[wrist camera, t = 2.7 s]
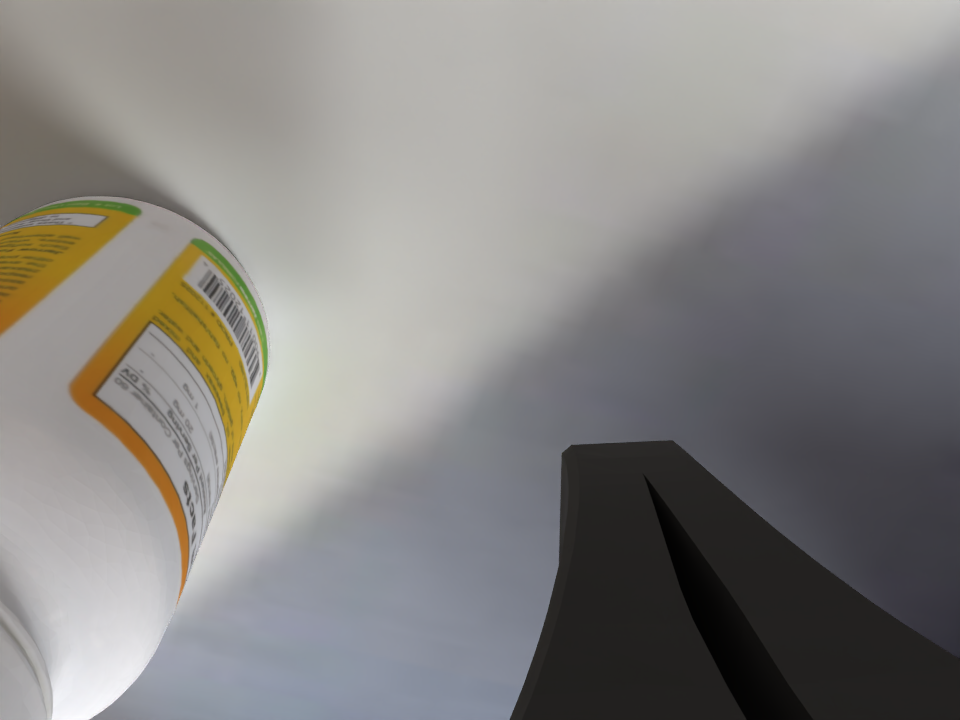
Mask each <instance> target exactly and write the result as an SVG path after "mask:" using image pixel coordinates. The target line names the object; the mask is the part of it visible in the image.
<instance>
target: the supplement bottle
mask: <svg viewBox="0 0 960 720" xmlns="http://www.w3.org/2000/svg"><path fill="white" fill-rule="evenodd" d="M269 357H270V337H269V329H268V323H267V318H266V314H265V311H264V308H263V304H262V302H261V299H260V297H259V295H258V292H257V290H256V288H255V286H254V285H253V283H252V281H251V279H250V278H249V276H248V275H247V273H246V272H245V270H244V269H243V267H242V266H241V265H240V264H239V262H238V261H237V260H236V258H235V257H234V256H233V255H232V254H231V253H230V252H229V251H228V249H227V248H226V247H224V246H223V245H222V244H221V243H220V242H219V241H218V240H217V239H216V238H215V237H213V236H212V235H211V234H209V233H208V232H206V231H205V230H204V229H202V228H201V227H199V226H198V225H196V224H195V223H193V222H191V221H190V220H188V219H186V218H184V217H182V216H180V215H178V214H176V213H174V212H172V211H170V210H167V209H165V208H162V207H159V206H156V205H153V204H150V203H146V202H142V201H138V200H134V199H129V198H122V197H110V196H86V197H76V198H70V199H64V200H60V201H56V202H52V203H49V204H46V205H44V206H41V207H39V208H36V209H34V210H32V211H30V212H28V213H26V214H24V215H22V216H20V217H19V218H17V219H15V220H13V221H11V222H10V223H8V224H7V225H5V226H3V227H2V228H0V720H89V719H91V718H92V717H94V716H95V715H97V714H98V713H100V712H101V711H103V710H104V709H105V708H107V707H108V706H109V705H111V704H112V703H113V702H114V701H115V700H116V699H118V698H119V697H120V696H121V695H122V694H123V693H124V692H125V691H126V690H127V689H128V688H129V687H130V686H131V685H132V684H133V682H134V681H135V680H136V679H137V678H138V676H139V675H140V674H141V673H142V671H143V670H144V669H145V667H146V666H147V664H148V663H149V661H150V659H151V658H152V656H153V655H154V653H155V651H156V649H157V647H158V645H159V643H160V642H161V639H162V637H163V635H164V632H165V630H166V628H167V626H168V624H169V622H170V620H171V618H172V616H173V614H174V612H175V609H176V606H177V604H178V601H179V598H180V595H181V593H182V591H183V589H184V586H185V584H186V581H187V578H188V575H189V573H190V570H191V568H192V565H193V562H194V560H195V557H196V555H197V552H198V550H199V548H200V545H201V543H202V540H203V538H204V535H205V533H206V530H207V528H208V526H209V523H210V521H211V518H212V516H213V513H214V511H215V508H216V506H217V503H218V501H219V498H220V496H221V493H222V490H223V488H224V485H225V483H226V480H227V478H228V475H229V473H230V471H231V468H232V466H233V463H234V461H235V458H236V456H237V453H238V450H239V448H240V445H241V443H242V440H243V438H244V436H245V433H246V430H247V428H248V425H249V423H250V421H251V418H252V416H253V413H254V411H255V408H256V406H257V403H258V401H259V398H260V395H261V392H262V390H263V387H264V383H265V380H266V376H267V372H268V367H269Z"/></svg>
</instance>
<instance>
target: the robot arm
mask: <svg viewBox="0 0 960 720" xmlns="http://www.w3.org/2000/svg"><path fill="white" fill-rule="evenodd" d="M510 720H960V659H958V658H957V657H955V656H954V655H952V654H951V653H949V652H947V651H946V650H944V649H943V648H941V647H939V646H938V645H936V644H935V643H933V642H932V641H930V640H928V639H927V638H925V637H924V636H922V635H920V634H919V633H917V632H916V631H914V630H913V629H911V628H909V627H908V626H906V625H905V624H903V623H902V622H900V621H899V620H897V619H896V618H894V617H893V616H891V615H890V614H888V613H887V612H885V611H884V610H882V609H881V608H880V607H878V606H877V605H875V604H874V603H872V602H871V601H870V600H868V599H867V598H865V597H864V596H863V595H861V594H860V593H859V592H857V591H856V590H854V589H853V588H852V587H850V586H849V585H848V584H846V583H845V582H844V581H842V580H841V579H839V578H838V577H837V576H835V575H834V574H833V573H831V572H830V571H828V570H827V569H826V568H824V567H823V566H822V565H820V564H819V563H818V562H817V561H815V560H814V559H813V558H811V557H810V556H809V555H807V554H806V553H805V552H804V551H802V550H801V549H800V548H798V547H797V546H796V545H795V544H793V543H792V542H791V541H790V540H788V539H787V538H786V537H785V536H783V535H782V534H781V533H780V532H779V531H777V530H776V529H775V528H774V527H772V526H771V525H770V524H769V523H768V522H766V521H765V520H764V519H763V518H762V517H760V516H759V515H758V514H757V513H756V512H754V511H753V510H752V509H751V508H750V507H749V506H747V505H746V504H745V503H744V502H743V501H742V500H740V499H739V498H738V497H737V496H736V495H735V494H733V493H732V492H731V491H730V490H729V489H728V488H727V487H725V486H724V485H723V484H722V483H721V482H720V481H719V480H717V479H716V478H715V477H714V476H713V475H712V474H711V473H710V472H708V471H707V470H706V469H705V468H704V467H703V466H702V465H700V464H699V463H698V462H697V461H696V460H695V459H694V458H693V457H691V456H690V455H689V454H688V453H687V452H686V451H684V450H683V449H682V448H681V447H680V446H679V445H677V444H676V443H675V442H674V441H672V440H671V441H649V442H627V443H605V444H583V445H571V446H570V447H569V448H568V449H567V450H565V451H564V452H563V453H562V468H561V507H560V546H559V567H558V571H557V576H556V580H555V584H554V588H553V592H552V596H551V600H550V604H549V608H548V612H547V615H546V619H545V622H544V626H543V629H542V632H541V635H540V639H539V642H538V645H537V648H536V651H535V654H534V657H533V660H532V663H531V665H530V668H529V671H528V674H527V677H526V680H525V682H524V685H523V688H522V691H521V693H520V695H519V698H518V700H517V703H516V705H515V708H514V710H513V713H512V715H511V718H510Z"/></svg>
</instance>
